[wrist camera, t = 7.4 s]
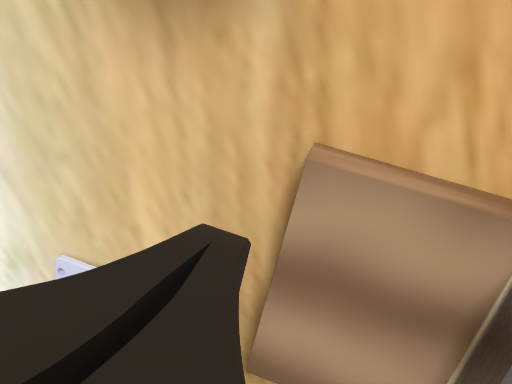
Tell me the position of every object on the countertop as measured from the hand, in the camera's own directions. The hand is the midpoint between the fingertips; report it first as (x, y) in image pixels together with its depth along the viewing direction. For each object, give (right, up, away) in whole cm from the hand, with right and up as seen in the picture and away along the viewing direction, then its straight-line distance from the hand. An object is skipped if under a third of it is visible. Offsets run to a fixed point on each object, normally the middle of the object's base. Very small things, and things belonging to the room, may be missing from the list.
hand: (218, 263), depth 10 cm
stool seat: (+8, -3, +9) cm, 13 cm away
